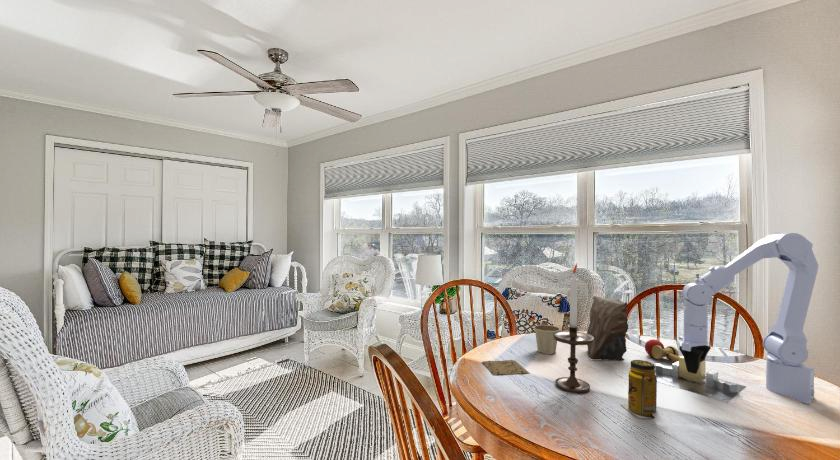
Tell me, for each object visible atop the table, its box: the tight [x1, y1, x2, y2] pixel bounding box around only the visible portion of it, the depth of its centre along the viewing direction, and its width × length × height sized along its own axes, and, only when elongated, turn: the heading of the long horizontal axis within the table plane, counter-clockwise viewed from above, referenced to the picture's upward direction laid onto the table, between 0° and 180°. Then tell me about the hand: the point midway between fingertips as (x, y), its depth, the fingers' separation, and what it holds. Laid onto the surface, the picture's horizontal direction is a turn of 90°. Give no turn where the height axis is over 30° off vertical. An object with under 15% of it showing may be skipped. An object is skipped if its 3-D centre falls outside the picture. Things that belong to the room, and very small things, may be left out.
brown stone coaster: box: [481, 359, 530, 376], centre depth 125 cm, size 12×12×1 cm
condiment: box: [621, 359, 658, 420], centre depth 96 cm, size 7×8×12 cm
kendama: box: [644, 338, 680, 363], centre depth 132 cm, size 8×6×18 cm
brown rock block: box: [586, 295, 629, 361], centre depth 138 cm, size 13×13×20 cm
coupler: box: [679, 354, 706, 382], centre depth 115 cm, size 6×4×6 cm, turn 37°
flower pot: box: [532, 324, 562, 355], centre depth 141 cm, size 9×9×9 cm
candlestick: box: [553, 263, 594, 394], centre depth 110 cm, size 11×11×35 cm
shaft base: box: [654, 361, 747, 403], centre depth 113 cm, size 21×17×4 cm
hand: (694, 370), depth 114 cm, fingers closed on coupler, 4 cm apart
